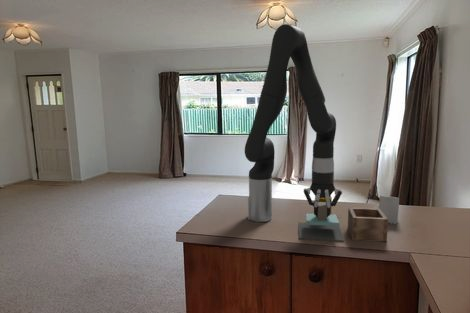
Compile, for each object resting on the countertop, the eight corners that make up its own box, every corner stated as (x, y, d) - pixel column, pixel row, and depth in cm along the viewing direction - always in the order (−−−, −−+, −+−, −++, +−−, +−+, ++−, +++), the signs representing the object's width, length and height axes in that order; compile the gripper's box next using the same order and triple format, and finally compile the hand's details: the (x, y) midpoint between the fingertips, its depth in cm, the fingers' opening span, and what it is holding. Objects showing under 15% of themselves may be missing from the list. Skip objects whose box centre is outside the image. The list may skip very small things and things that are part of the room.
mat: (298, 239, 113) (298, 237, 113) (298, 223, 128) (298, 222, 128) (344, 241, 110) (344, 240, 110) (338, 225, 125) (338, 224, 125)
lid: (306, 224, 114) (306, 207, 113) (305, 216, 125) (306, 200, 124) (339, 226, 112) (339, 208, 111) (335, 217, 122) (336, 201, 122)
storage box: (352, 240, 112) (353, 217, 110) (347, 227, 122) (348, 207, 121) (386, 242, 110) (388, 219, 108) (378, 229, 120) (380, 208, 119)
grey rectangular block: (397, 224, 125) (398, 199, 123) (378, 221, 129) (379, 196, 127) (397, 221, 128) (399, 196, 127) (379, 218, 132) (380, 194, 130)
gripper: (302, 171, 113) (302, 219, 115) (344, 172, 110) (343, 221, 113) (302, 167, 120) (302, 212, 123) (342, 167, 117) (340, 213, 120)
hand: (321, 216), depth 118 cm, fingers closed on lid, 3 cm apart
